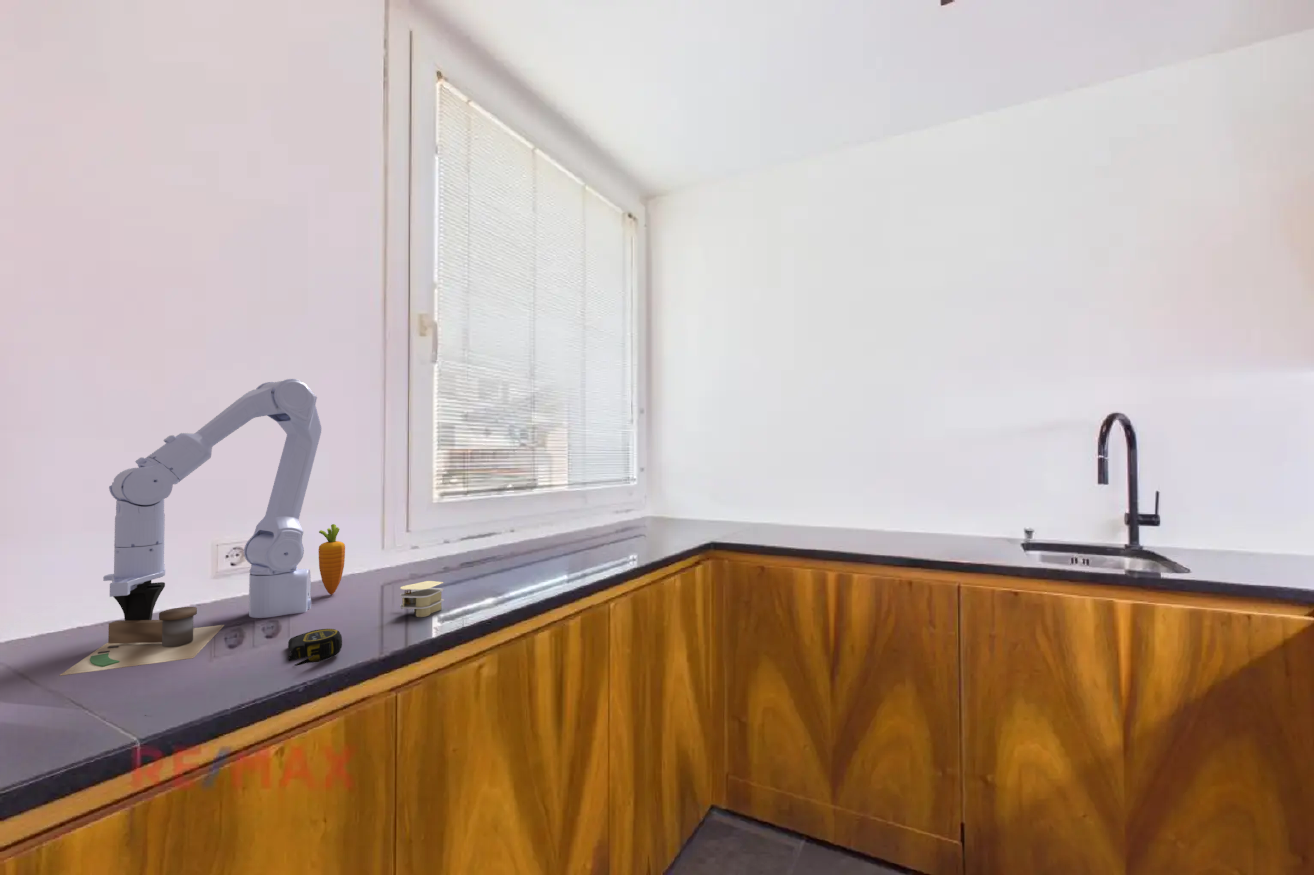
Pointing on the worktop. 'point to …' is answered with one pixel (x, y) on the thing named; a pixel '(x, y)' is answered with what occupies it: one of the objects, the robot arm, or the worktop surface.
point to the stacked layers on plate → (422, 598)
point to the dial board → (142, 653)
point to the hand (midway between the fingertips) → (138, 632)
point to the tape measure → (315, 645)
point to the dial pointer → (156, 628)
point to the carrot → (331, 559)
